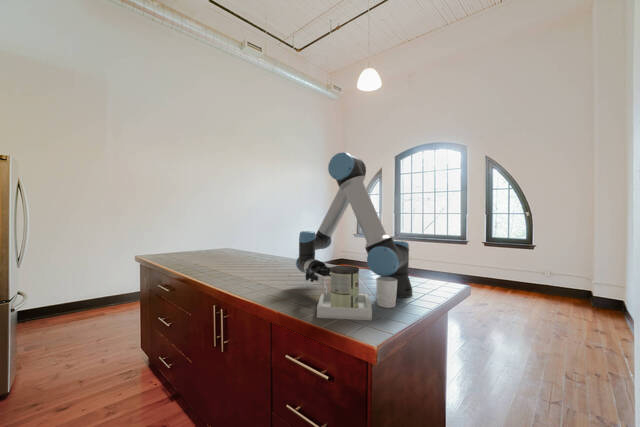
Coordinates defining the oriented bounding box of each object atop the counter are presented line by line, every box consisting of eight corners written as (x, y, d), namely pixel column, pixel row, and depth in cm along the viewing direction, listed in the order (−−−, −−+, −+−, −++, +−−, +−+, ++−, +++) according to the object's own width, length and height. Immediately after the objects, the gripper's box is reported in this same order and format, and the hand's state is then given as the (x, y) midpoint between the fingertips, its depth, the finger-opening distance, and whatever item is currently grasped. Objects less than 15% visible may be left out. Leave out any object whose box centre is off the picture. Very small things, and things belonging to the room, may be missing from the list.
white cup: (397, 303, 112) (398, 277, 113) (396, 309, 105) (396, 282, 105) (377, 301, 115) (377, 276, 115) (374, 307, 108) (374, 280, 108)
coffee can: (330, 302, 109) (331, 265, 109) (358, 303, 108) (358, 265, 108) (328, 311, 99) (329, 270, 99) (359, 312, 98) (359, 271, 98)
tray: (367, 303, 112) (367, 294, 112) (371, 320, 94) (372, 309, 94) (321, 301, 113) (321, 292, 113) (316, 317, 95) (317, 307, 95)
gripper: (340, 275, 131) (367, 285, 112) (288, 279, 120) (308, 292, 101) (340, 258, 131) (367, 266, 112) (288, 261, 120) (308, 270, 101)
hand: (339, 278), depth 106 cm, fingers open, 13 cm apart
